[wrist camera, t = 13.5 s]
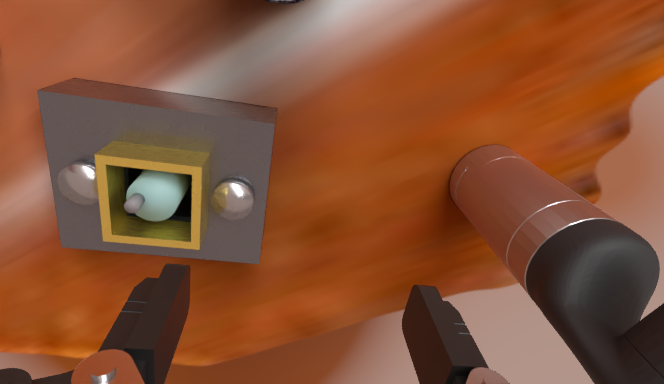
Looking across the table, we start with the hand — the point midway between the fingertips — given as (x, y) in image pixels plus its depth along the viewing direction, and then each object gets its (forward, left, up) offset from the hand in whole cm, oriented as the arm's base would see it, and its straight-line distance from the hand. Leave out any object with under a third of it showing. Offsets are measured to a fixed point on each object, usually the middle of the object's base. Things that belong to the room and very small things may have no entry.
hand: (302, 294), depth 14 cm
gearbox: (+12, +9, -30) cm, 34 cm away
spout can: (+12, +9, -30) cm, 33 cm away
